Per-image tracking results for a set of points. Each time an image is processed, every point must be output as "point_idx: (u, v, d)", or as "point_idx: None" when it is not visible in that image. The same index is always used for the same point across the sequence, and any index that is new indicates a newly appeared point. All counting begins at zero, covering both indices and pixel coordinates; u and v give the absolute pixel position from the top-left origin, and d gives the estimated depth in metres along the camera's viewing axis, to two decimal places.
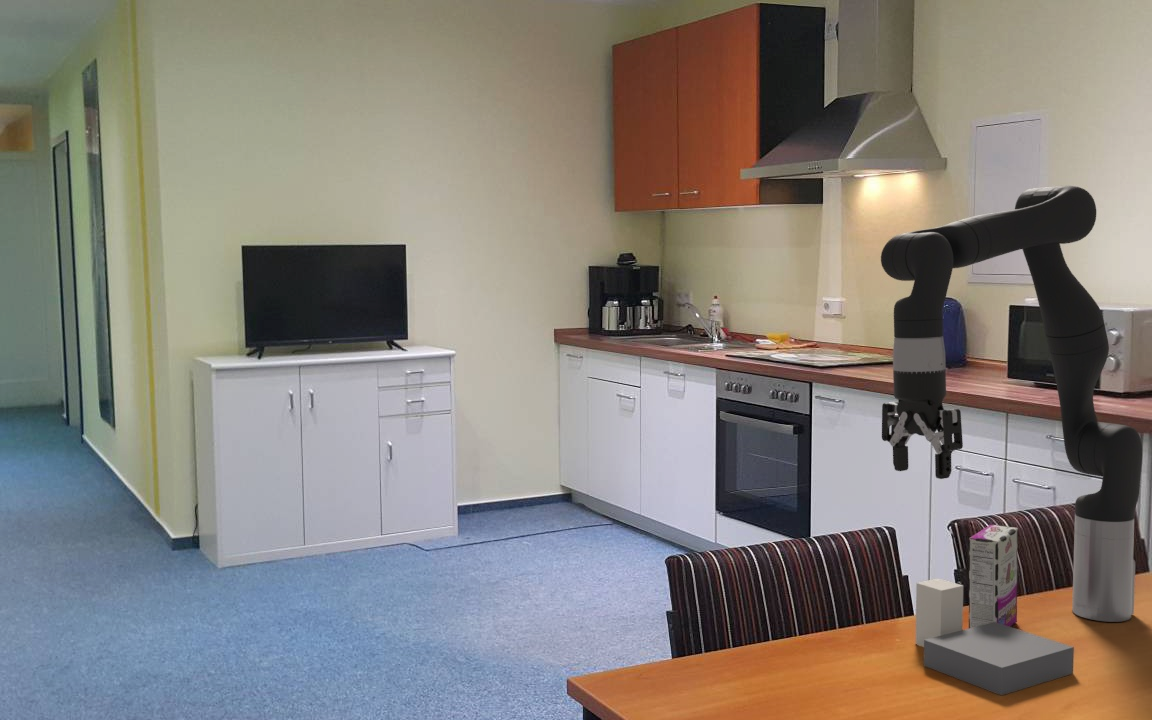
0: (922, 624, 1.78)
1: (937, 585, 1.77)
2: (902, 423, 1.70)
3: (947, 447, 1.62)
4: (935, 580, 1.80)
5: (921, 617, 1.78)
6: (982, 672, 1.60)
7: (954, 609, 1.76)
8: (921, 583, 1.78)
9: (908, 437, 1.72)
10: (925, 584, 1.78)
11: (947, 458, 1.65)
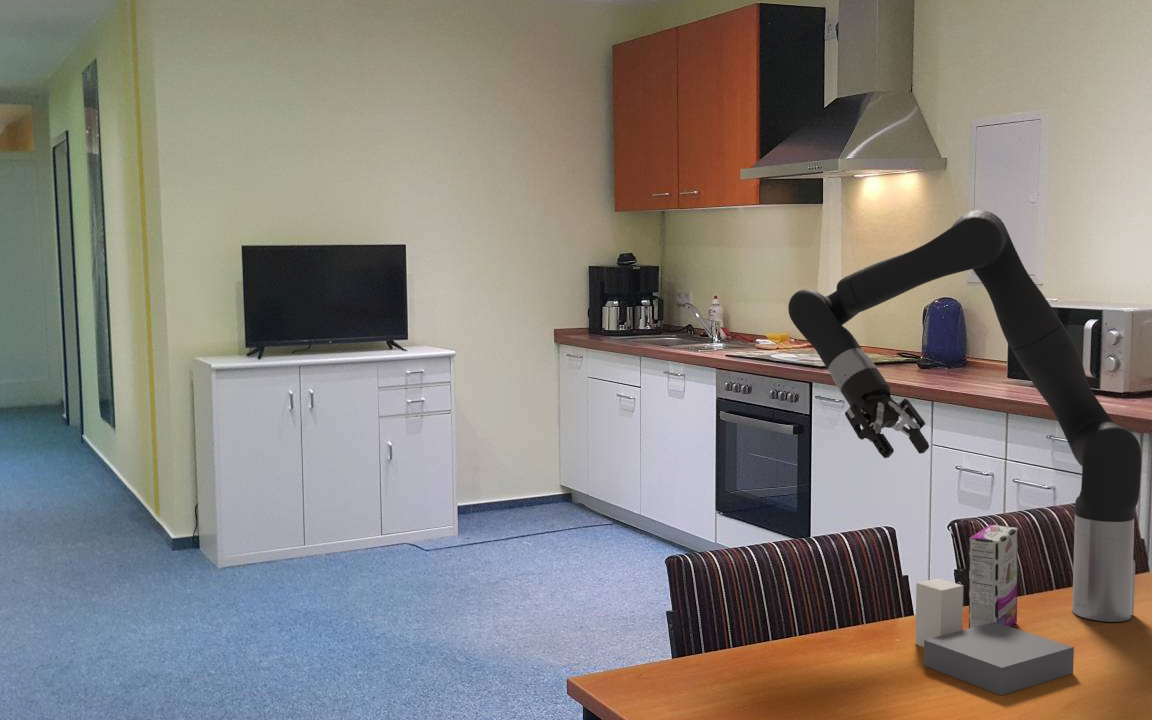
0: (922, 624, 1.78)
1: (937, 585, 1.77)
2: None
3: None
4: (935, 580, 1.80)
5: (921, 617, 1.78)
6: (982, 672, 1.60)
7: (954, 609, 1.76)
8: (921, 583, 1.78)
9: (909, 424, 1.94)
10: (925, 584, 1.78)
11: (877, 440, 1.89)
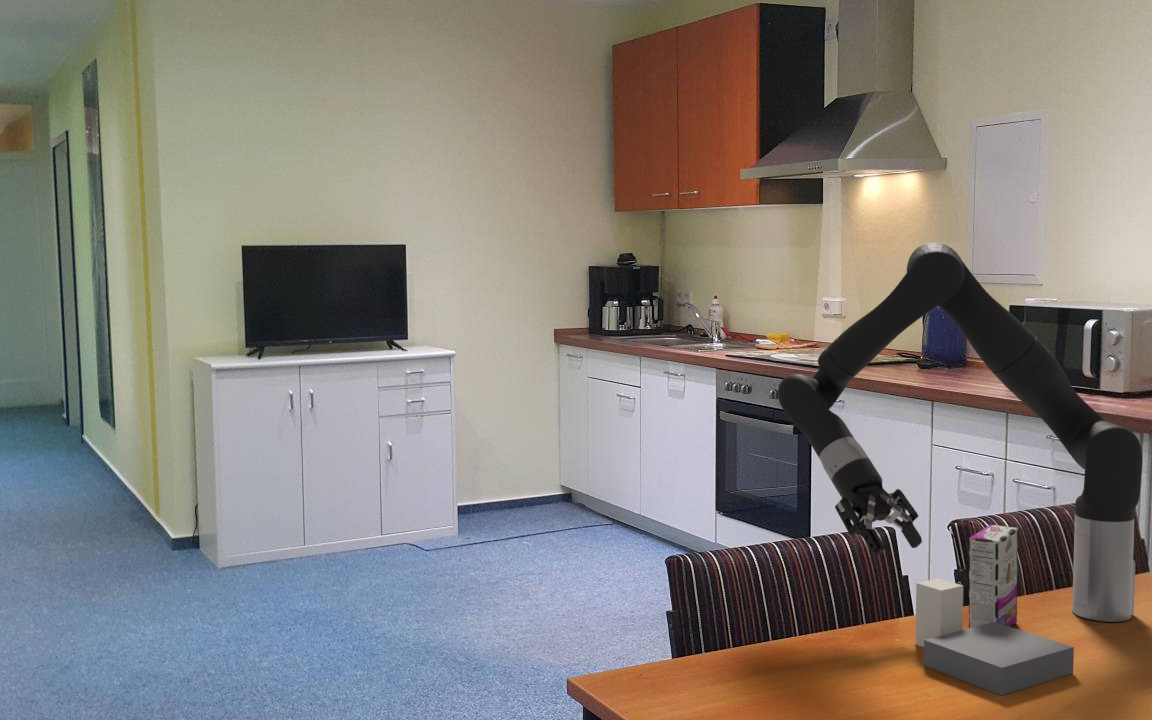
0: (922, 624, 1.78)
1: (937, 585, 1.77)
2: None
3: None
4: (935, 580, 1.80)
5: (921, 617, 1.78)
6: (982, 672, 1.60)
7: (954, 609, 1.76)
8: (921, 583, 1.78)
9: (901, 517, 1.89)
10: (925, 584, 1.78)
11: (868, 536, 1.84)
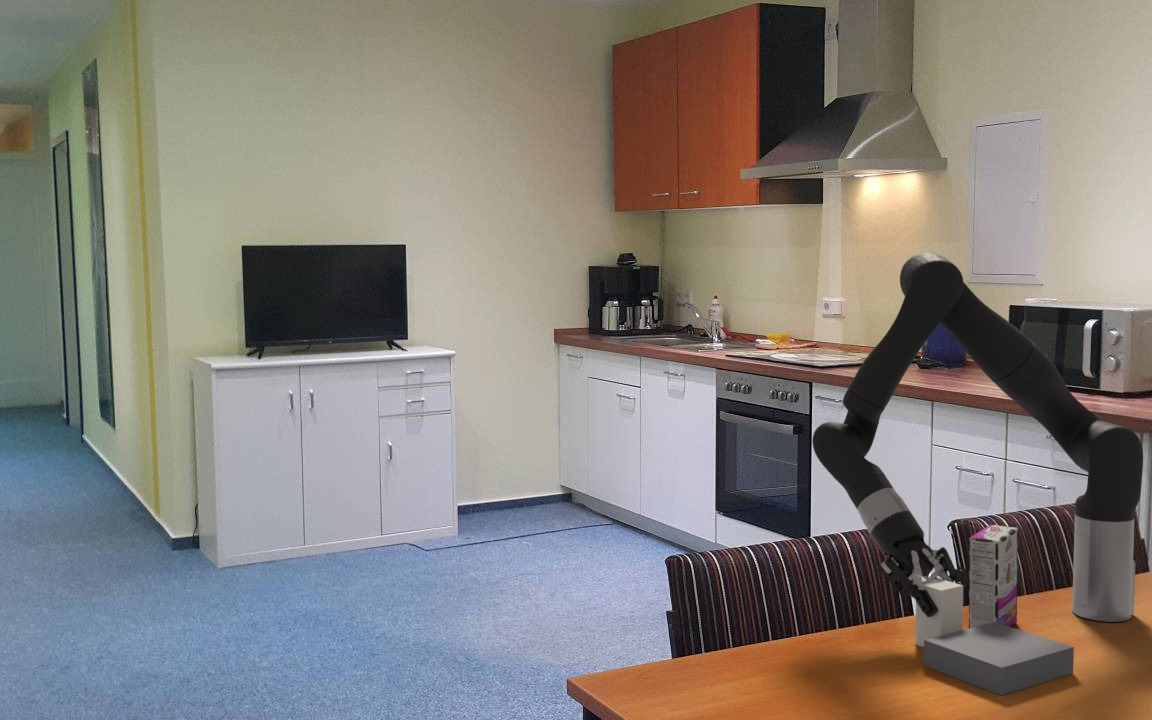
0: (922, 624, 1.78)
1: (937, 585, 1.77)
2: None
3: None
4: (935, 580, 1.80)
5: (921, 617, 1.78)
6: (982, 672, 1.60)
7: (954, 609, 1.76)
8: None
9: (941, 577, 1.80)
10: (925, 584, 1.78)
11: (920, 598, 1.77)
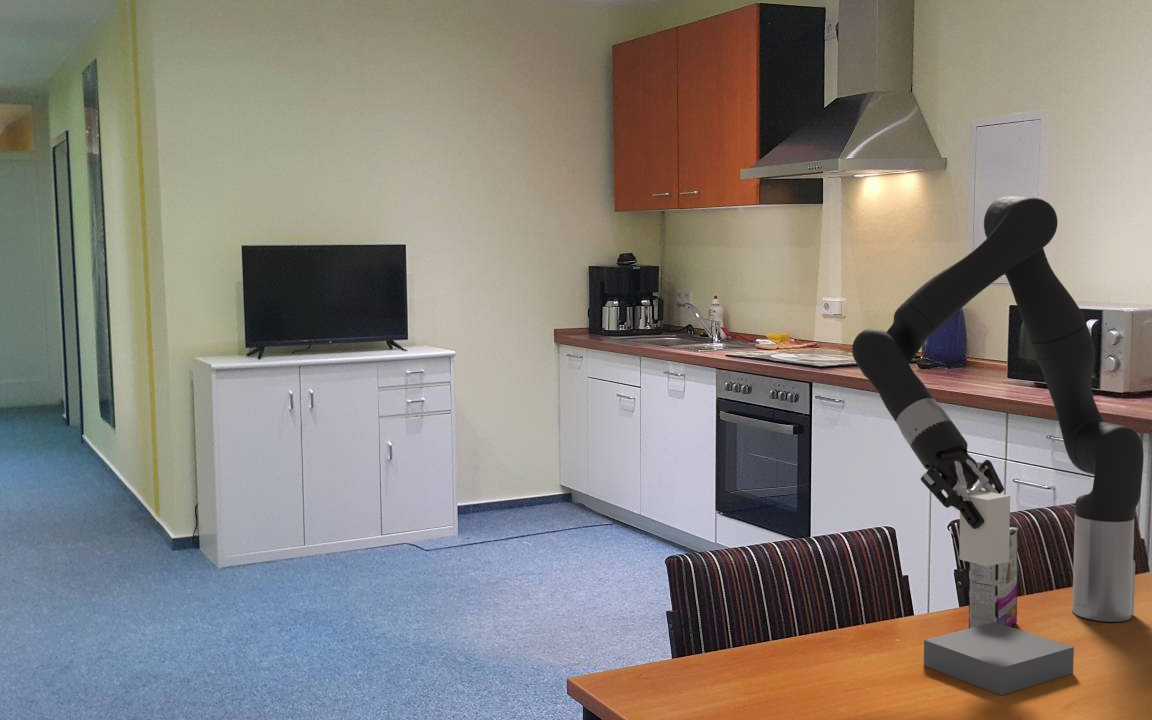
0: (966, 537, 1.69)
1: (982, 495, 1.68)
2: None
3: None
4: (980, 492, 1.70)
5: (965, 530, 1.69)
6: (982, 672, 1.60)
7: (1001, 521, 1.67)
8: None
9: (986, 488, 1.71)
10: (969, 495, 1.68)
11: (965, 509, 1.67)
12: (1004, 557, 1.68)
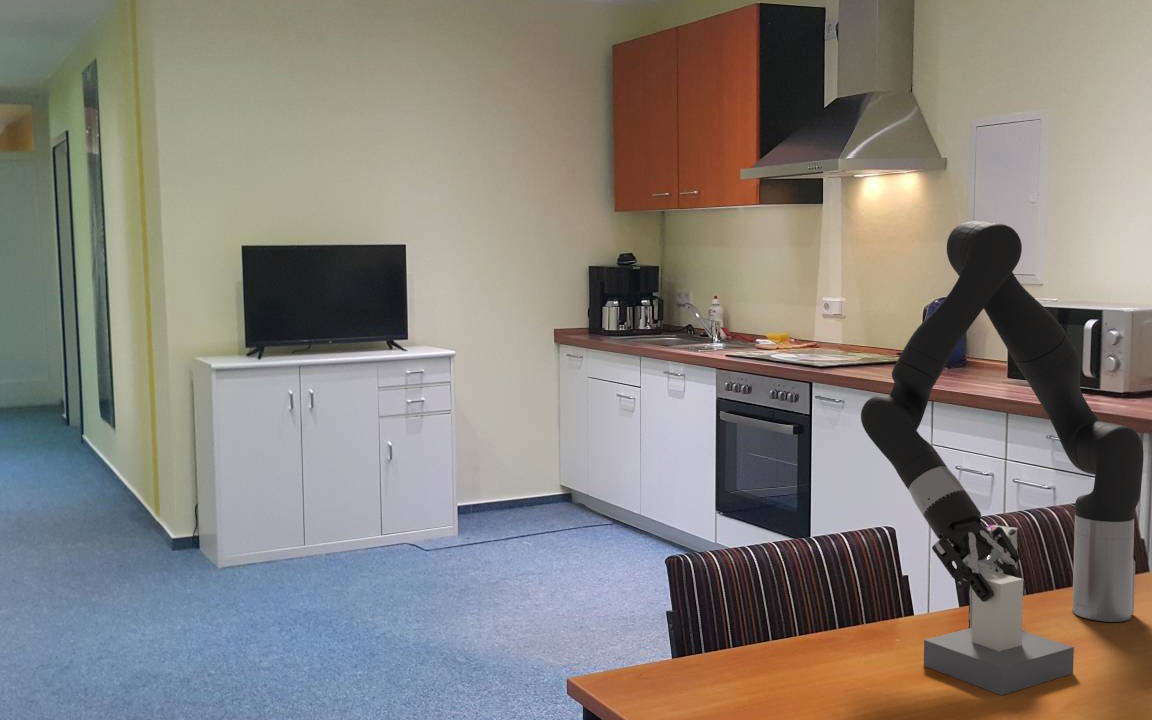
0: (979, 620, 1.67)
1: (996, 578, 1.66)
2: None
3: None
4: (992, 573, 1.69)
5: (978, 613, 1.67)
6: (982, 672, 1.60)
7: (1014, 604, 1.65)
8: None
9: (1002, 558, 1.70)
10: None
11: (974, 581, 1.65)
12: (1017, 641, 1.66)
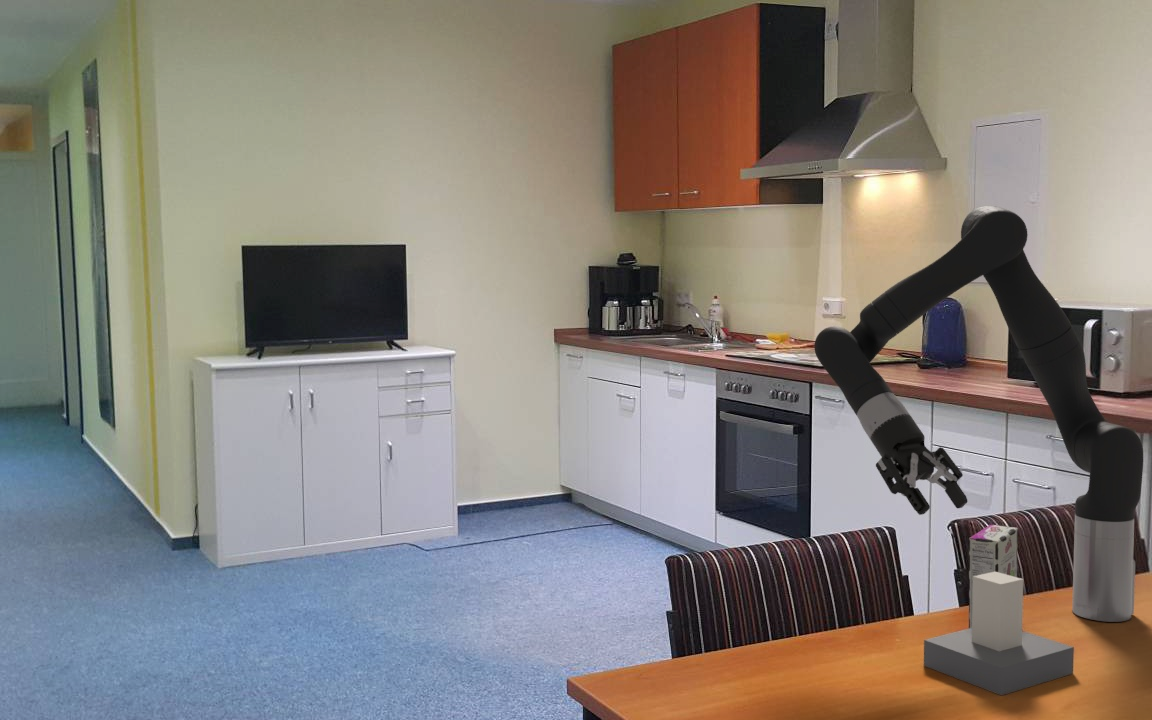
0: (979, 620, 1.67)
1: (996, 578, 1.66)
2: None
3: None
4: (992, 573, 1.69)
5: (978, 613, 1.67)
6: (982, 672, 1.60)
7: (1014, 604, 1.65)
8: (978, 576, 1.67)
9: (945, 476, 1.79)
10: (982, 577, 1.67)
11: (911, 495, 1.74)
12: (1017, 641, 1.66)
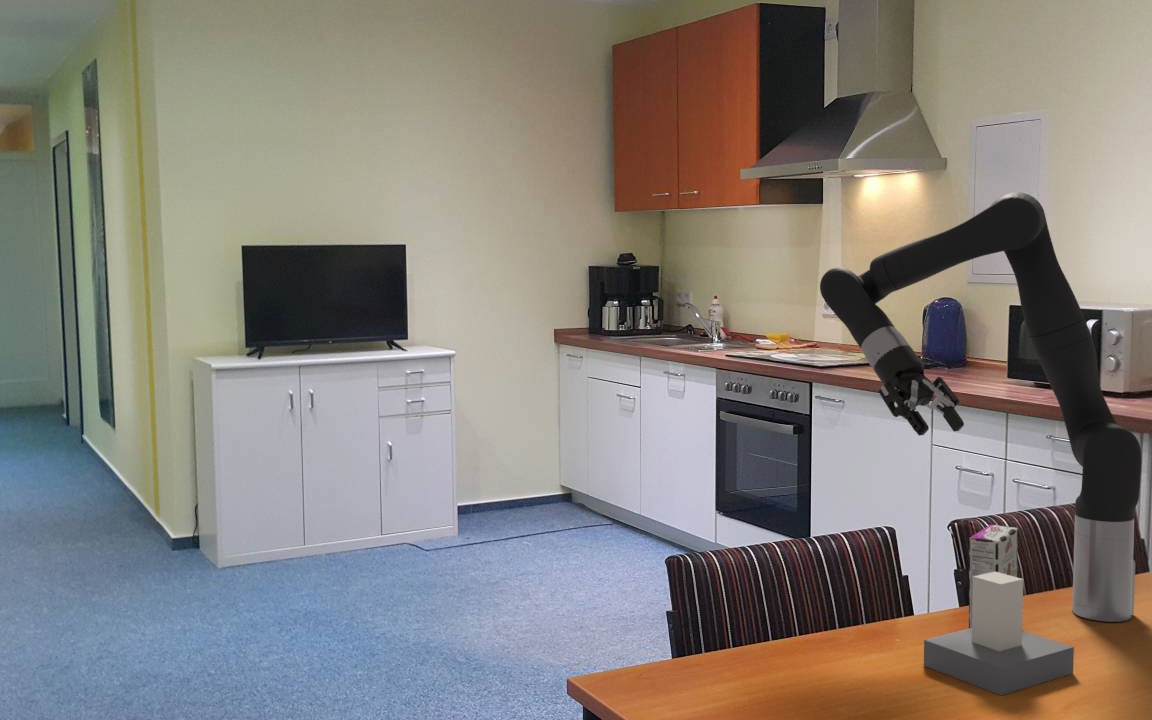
0: (979, 620, 1.67)
1: (996, 578, 1.66)
2: None
3: None
4: (992, 573, 1.69)
5: (978, 613, 1.67)
6: (982, 672, 1.60)
7: (1014, 604, 1.65)
8: (978, 576, 1.67)
9: (943, 402, 1.92)
10: (982, 577, 1.67)
11: (912, 418, 1.87)
12: (1017, 641, 1.66)
